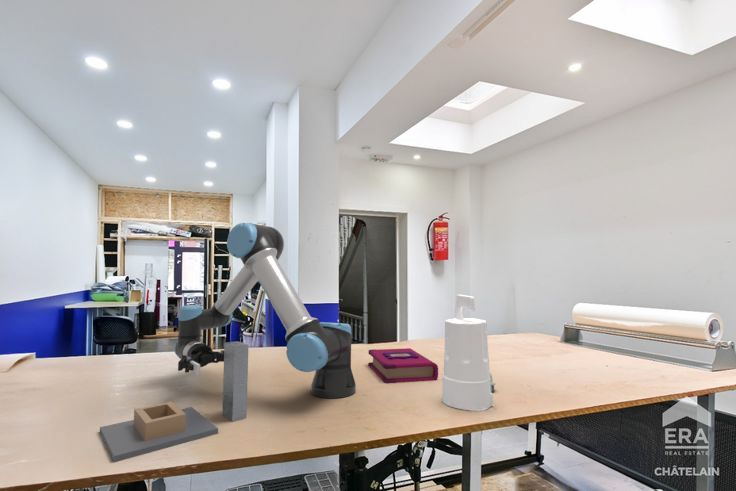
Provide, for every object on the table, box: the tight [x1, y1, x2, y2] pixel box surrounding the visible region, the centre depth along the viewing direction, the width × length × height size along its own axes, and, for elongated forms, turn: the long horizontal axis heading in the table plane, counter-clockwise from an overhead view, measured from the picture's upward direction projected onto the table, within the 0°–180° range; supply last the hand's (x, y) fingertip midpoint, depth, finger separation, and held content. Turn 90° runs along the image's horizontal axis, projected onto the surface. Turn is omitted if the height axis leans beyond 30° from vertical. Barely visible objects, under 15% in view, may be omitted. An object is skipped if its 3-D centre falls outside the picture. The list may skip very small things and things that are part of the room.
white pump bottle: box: [441, 293, 496, 412], centre depth 122 cm, size 15×15×33 cm
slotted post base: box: [99, 401, 219, 463], centre depth 96 cm, size 22×20×5 cm
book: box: [368, 347, 439, 384], centre depth 156 cm, size 21×28×8 cm
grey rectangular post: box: [221, 340, 249, 422], centre depth 108 cm, size 4×7×20 cm, turn 42°
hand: (222, 366), depth 116 cm, fingers open, 13 cm apart
